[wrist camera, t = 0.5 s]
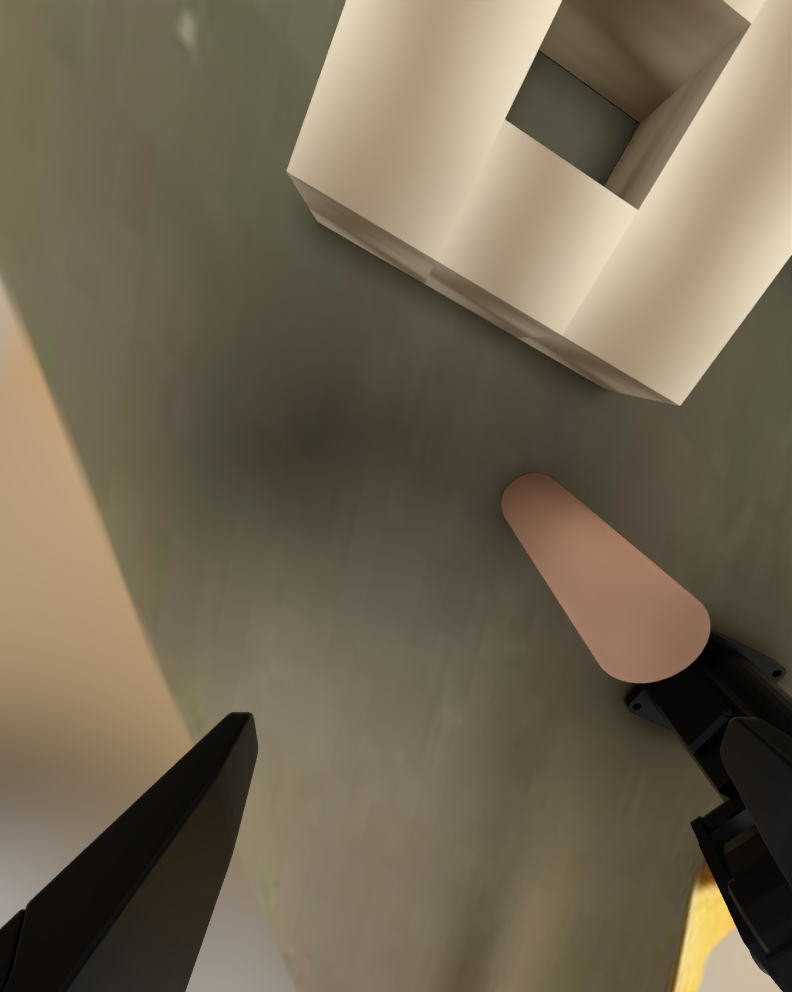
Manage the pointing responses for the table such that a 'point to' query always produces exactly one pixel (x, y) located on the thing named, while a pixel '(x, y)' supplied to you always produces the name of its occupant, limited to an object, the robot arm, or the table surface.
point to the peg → (606, 584)
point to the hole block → (566, 171)
